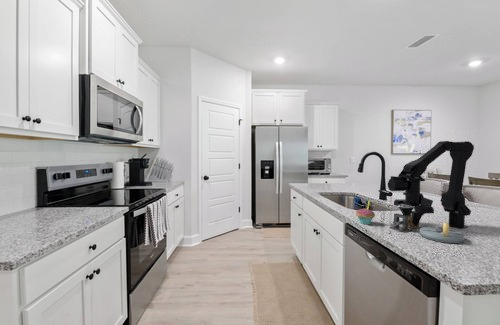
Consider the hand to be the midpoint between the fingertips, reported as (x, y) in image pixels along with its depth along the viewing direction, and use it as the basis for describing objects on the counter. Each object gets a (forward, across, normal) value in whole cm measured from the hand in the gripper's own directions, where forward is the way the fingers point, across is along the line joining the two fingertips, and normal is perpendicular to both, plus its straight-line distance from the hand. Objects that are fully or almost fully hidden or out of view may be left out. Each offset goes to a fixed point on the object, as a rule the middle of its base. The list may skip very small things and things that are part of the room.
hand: (412, 224), depth 114 cm
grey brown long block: (+1, -2, +5) cm, 6 cm away
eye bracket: (+1, -3, +7) cm, 8 cm away
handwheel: (+1, -14, -2) cm, 15 cm away
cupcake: (+2, +8, +18) cm, 20 cm away
